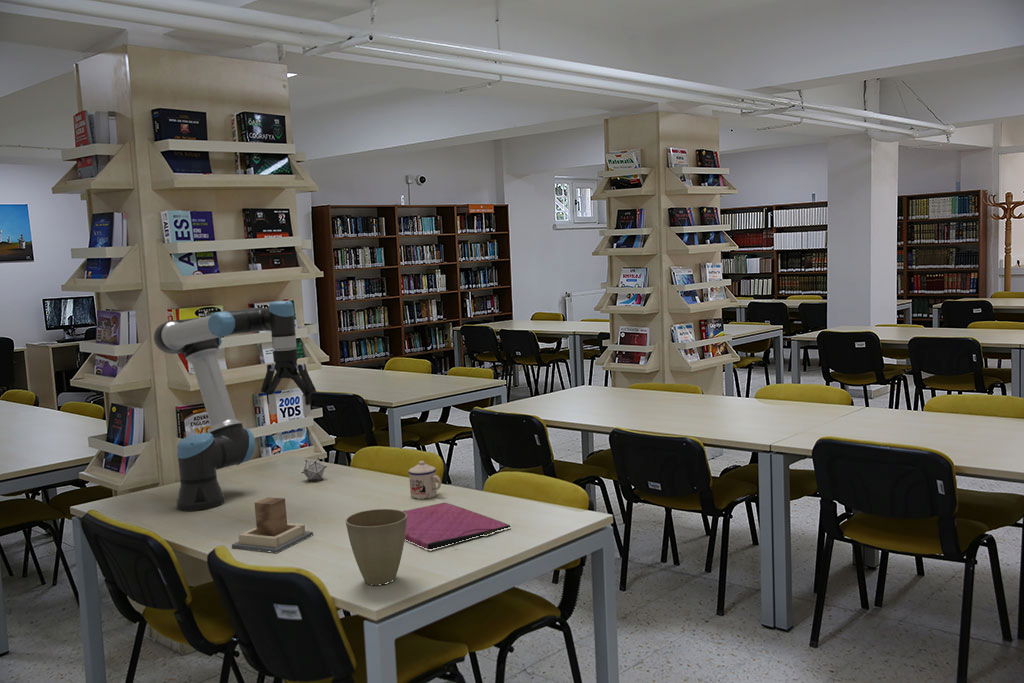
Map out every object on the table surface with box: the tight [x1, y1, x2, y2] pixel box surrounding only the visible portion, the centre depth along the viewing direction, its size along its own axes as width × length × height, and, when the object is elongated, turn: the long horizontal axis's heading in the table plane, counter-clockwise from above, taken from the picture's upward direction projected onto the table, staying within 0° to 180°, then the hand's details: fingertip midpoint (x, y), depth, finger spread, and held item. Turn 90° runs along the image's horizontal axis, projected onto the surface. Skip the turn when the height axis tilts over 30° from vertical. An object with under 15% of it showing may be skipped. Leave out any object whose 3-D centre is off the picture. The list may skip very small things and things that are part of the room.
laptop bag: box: [402, 502, 511, 549], centre depth 256 cm, size 40×4×27 cm
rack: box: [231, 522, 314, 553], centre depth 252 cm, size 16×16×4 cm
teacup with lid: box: [408, 460, 442, 500], centre depth 290 cm, size 12×9×12 cm
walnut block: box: [254, 496, 288, 537], centre depth 251 cm, size 6×6×11 cm
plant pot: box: [345, 508, 407, 586], centre depth 215 cm, size 15×15×16 cm
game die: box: [301, 457, 328, 483], centre depth 321 cm, size 9×8×10 cm
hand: (290, 414), depth 284 cm, fingers open, 13 cm apart
